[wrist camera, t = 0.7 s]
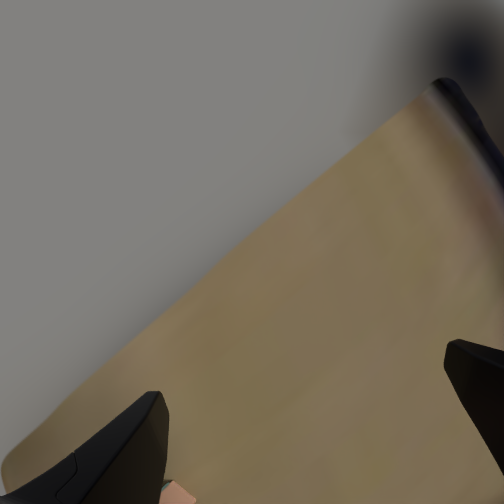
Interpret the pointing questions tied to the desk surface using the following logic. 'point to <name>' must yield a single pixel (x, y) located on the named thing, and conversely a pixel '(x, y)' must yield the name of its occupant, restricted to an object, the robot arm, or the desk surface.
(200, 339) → the desk surface
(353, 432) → the desk surface
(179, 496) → the tile
